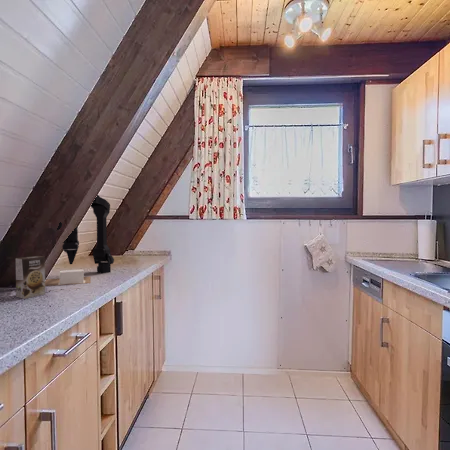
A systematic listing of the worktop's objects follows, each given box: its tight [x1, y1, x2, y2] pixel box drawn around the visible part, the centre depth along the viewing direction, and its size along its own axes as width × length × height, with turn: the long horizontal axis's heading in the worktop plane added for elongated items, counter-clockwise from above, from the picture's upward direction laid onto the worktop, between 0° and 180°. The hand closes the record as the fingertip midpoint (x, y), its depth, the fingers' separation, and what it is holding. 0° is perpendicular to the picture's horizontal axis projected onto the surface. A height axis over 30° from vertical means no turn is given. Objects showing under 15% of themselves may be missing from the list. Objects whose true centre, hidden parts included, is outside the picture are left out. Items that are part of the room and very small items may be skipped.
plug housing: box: [59, 268, 85, 285], centre depth 164 cm, size 10×5×5 cm, turn 111°
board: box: [45, 276, 92, 287], centre depth 168 cm, size 20×16×2 cm
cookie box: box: [15, 255, 46, 300], centre depth 146 cm, size 9×6×16 cm
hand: (71, 262), depth 164 cm, fingers open, 9 cm apart
